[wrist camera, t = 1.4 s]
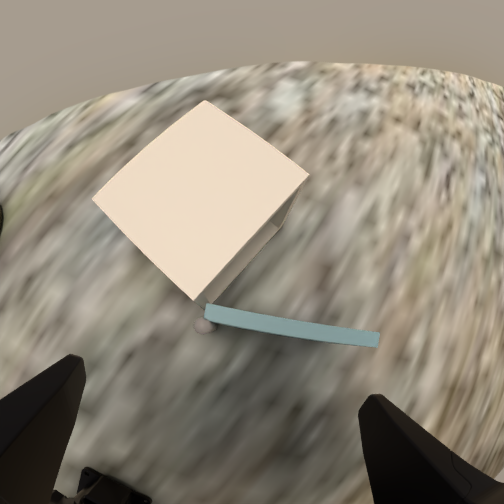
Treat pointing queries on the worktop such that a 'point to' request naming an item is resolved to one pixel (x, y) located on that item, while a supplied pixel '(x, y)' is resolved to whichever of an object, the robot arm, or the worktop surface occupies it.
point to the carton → (203, 200)
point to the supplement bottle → (0, 217)
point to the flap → (282, 327)
